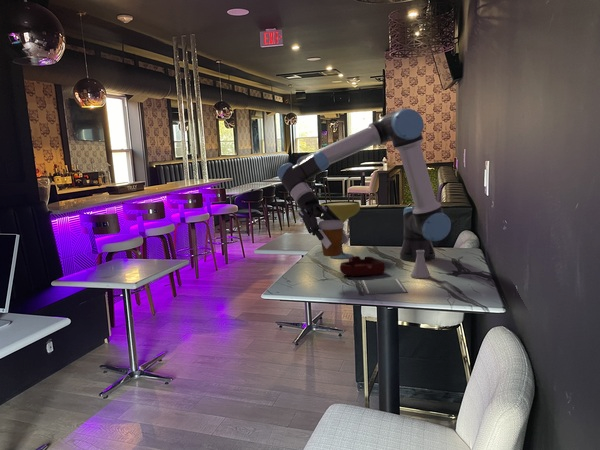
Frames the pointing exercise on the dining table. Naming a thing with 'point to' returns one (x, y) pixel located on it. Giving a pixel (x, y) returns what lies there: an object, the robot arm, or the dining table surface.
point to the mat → (383, 286)
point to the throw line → (359, 288)
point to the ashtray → (362, 266)
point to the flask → (420, 266)
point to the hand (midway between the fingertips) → (338, 243)
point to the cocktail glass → (343, 216)
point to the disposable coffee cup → (332, 236)
